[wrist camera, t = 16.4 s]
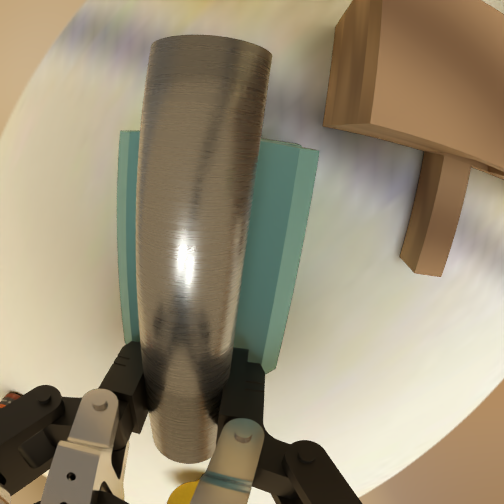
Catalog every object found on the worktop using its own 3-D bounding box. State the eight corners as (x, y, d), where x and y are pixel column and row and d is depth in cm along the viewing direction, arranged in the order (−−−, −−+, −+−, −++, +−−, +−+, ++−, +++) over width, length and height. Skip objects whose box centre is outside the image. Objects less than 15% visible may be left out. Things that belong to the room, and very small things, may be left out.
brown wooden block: (335, 26, 11) (383, -44, 5) (525, 104, 11) (612, 112, 5) (302, 241, 15) (324, 326, 9) (489, 271, 15) (558, 335, 9)
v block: (157, 128, 13) (111, 131, 9) (306, 145, 13) (322, 152, 9) (151, 299, 17) (119, 351, 12) (275, 318, 17) (275, 379, 12)
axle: (165, 60, 8) (135, 34, 5) (266, 68, 8) (279, 43, 5) (158, 406, 13) (148, 458, 10) (222, 413, 13) (221, 466, 11)
